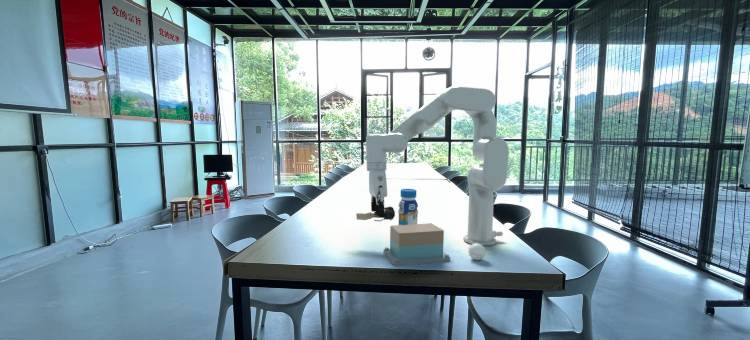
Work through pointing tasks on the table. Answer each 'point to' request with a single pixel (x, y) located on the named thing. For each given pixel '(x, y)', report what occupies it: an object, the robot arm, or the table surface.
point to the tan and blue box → (416, 244)
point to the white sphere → (477, 251)
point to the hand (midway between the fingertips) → (377, 212)
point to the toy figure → (388, 214)
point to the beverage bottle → (408, 207)
